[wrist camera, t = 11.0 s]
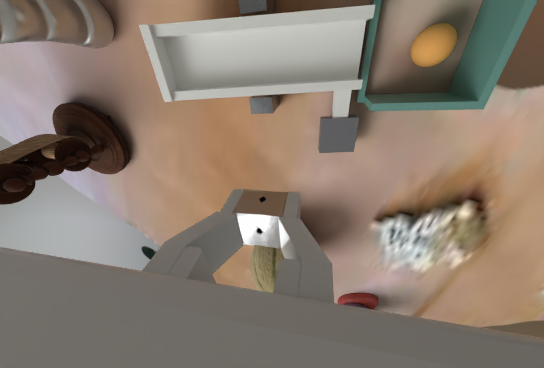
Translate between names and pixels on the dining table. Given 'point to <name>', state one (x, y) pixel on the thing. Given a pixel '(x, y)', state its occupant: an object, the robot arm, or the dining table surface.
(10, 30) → the plastic bottle
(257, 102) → the lever stand
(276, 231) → the robot arm
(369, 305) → the stacking bear
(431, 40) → the ball
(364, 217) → the dining table surface
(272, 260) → the cantaloupe
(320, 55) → the chute lever
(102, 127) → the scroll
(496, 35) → the cup
